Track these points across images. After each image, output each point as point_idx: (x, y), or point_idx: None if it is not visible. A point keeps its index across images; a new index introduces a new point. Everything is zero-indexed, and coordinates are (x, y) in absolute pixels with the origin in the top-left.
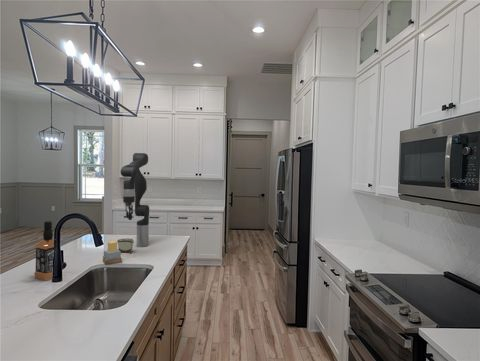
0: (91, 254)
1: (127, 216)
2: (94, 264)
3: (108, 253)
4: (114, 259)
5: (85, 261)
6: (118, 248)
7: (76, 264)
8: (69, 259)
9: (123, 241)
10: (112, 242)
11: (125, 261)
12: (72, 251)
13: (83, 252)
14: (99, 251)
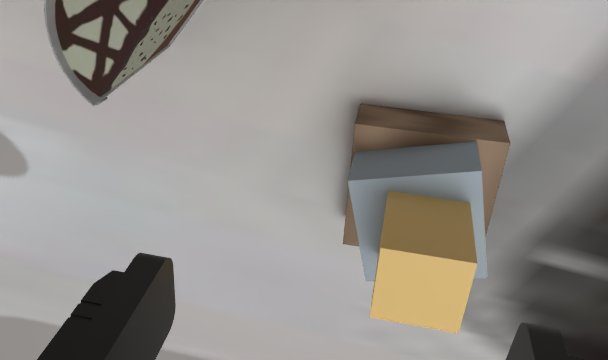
0: (125, 230)
1: (159, 322)
2: None
3: (481, 276)
4: (494, 196)
5: (293, 303)
6: (146, 64)
7: (334, 354)
8: (197, 352)
9: (135, 46)
10: (438, 297)
11: (482, 77)
12: (8, 296)
13: (52, 255)
14: (55, 163)
